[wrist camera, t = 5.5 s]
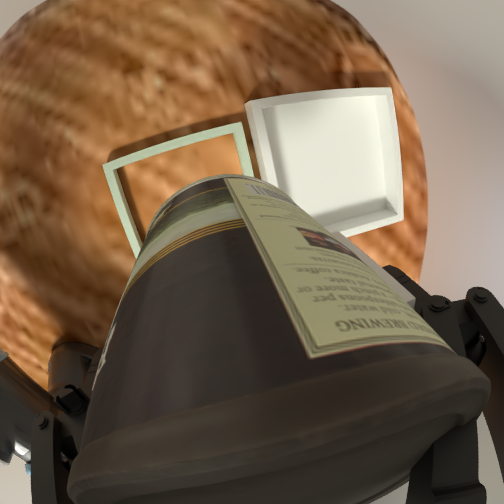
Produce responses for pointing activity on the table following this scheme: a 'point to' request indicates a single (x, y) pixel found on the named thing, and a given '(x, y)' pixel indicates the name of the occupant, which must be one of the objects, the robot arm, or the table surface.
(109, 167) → the frame
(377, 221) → the bin
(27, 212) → the table surface
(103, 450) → the coffee can
